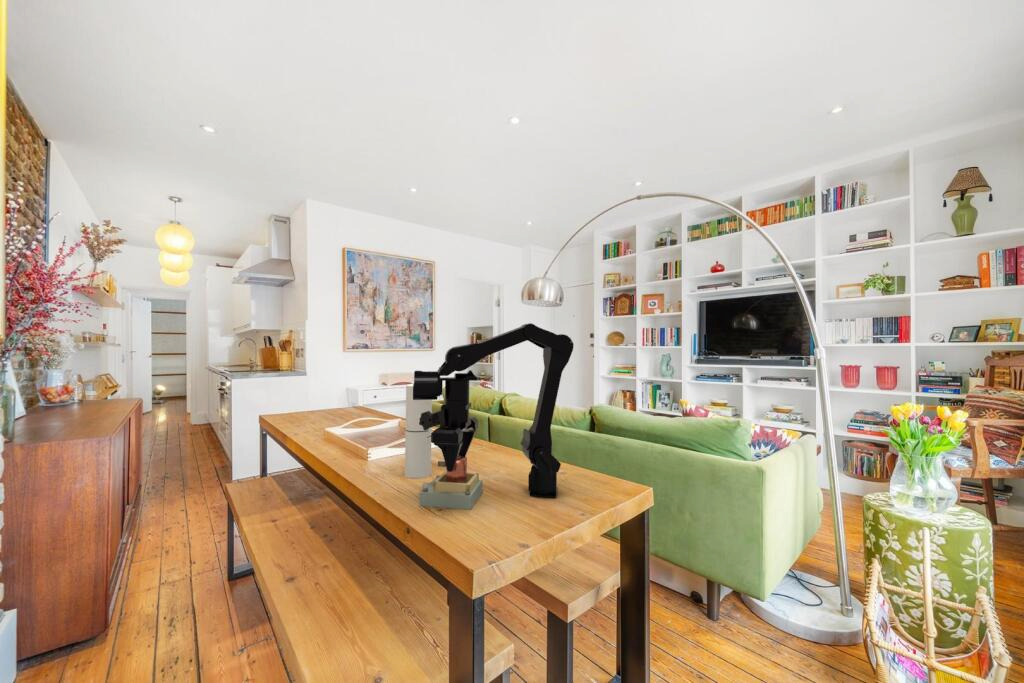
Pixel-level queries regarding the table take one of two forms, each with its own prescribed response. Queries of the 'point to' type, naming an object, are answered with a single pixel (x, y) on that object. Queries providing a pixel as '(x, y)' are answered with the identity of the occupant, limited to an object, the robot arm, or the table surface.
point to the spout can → (456, 470)
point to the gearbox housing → (451, 492)
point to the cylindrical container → (417, 437)
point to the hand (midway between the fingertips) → (456, 465)
